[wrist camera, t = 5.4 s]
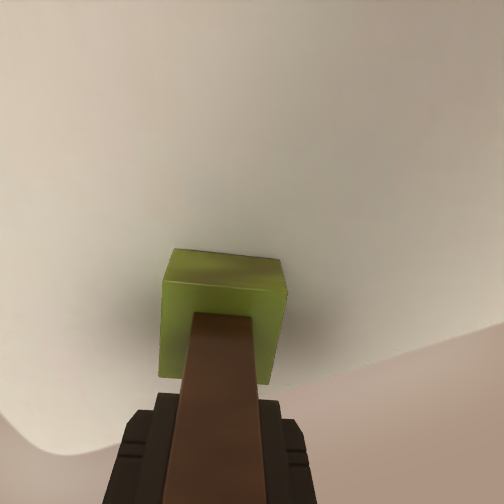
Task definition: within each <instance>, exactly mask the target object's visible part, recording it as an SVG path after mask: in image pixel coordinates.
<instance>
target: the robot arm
mask: <svg viewBox="0 0 504 504" xmlns="http://www.w3.org/2000/svg"><path fill="white" fill-rule="evenodd" d="M179 395H180V394H173V393H158V395H157V399H156V403H155V407H154V411H152V410H138V411H137V412H136V413H135V414H134V416H133V417H132V418H131V419H130V420H129V422H128V423H127V425H126V428H125V431H124V435H123V438H122V442H121V444H120V448H119V451H118V454H117V458H116V461H115V464H114V467H113V470H112V474H111V477H110V480H109V483H108V486H107V490H106V493H105V496H104V499H103V503H102V504H161V501H162V495H163V489H164V483H165V477H166V471H167V465H168V459H169V454H170V448H171V442H172V436H173V430H174V424H175V418H176V412H177V406H178V400H179ZM258 400H259V412H260V424H261V436H262V448H263V461H264V473H265V485H266V497H267V504H317V501H316V496H315V491H314V486H313V481H312V476H311V471H310V467H309V461H308V456H307V453H306V446H305V441H304V436H303V433H302V431H301V430H300V428H299V427H298V425H297V423H296V422H295V420H294V419H282V418H281V411H280V405H279V402H278V401H276V400H261V399H258Z"/></svg>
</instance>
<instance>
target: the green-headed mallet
mask: <svg viewBox="0 0 504 504" xmlns="http://www.w3.org/2000/svg"><path fill="white" fill-rule="evenodd" d="M287 295H288V291H287V287H286V283H285V279H284V275H283V272H282V268H281V264H280V260H276V259H267V258H257V257H248V256H238V255H229V254H219V253H210V252H200V251H191V250H182V249H174V250H173V252H172V255H171V258H170V261H169V264H168V266H167V269H166V272H165V275H164V278H163V281H162V304H161V326H160V349H159V371H158V376H159V377H163V378H177V379H182V383H181V389H180V395H179V400H178V406H177V412H176V418H175V424H174V430H173V436H172V442H171V448H170V454H169V459H168V465H167V471H166V477H165V483H164V489H163V495H162V501H161V504H267V497H266V485H265V473H264V461H263V448H262V436H261V424H260V412H259V400H258V387H257V384H263V385H268V384H269V381H270V377H271V372H272V367H273V362H274V357H275V353H276V348H277V343H278V338H279V333H280V329H281V324H282V319H283V314H284V310H285V305H286V300H287Z"/></svg>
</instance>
